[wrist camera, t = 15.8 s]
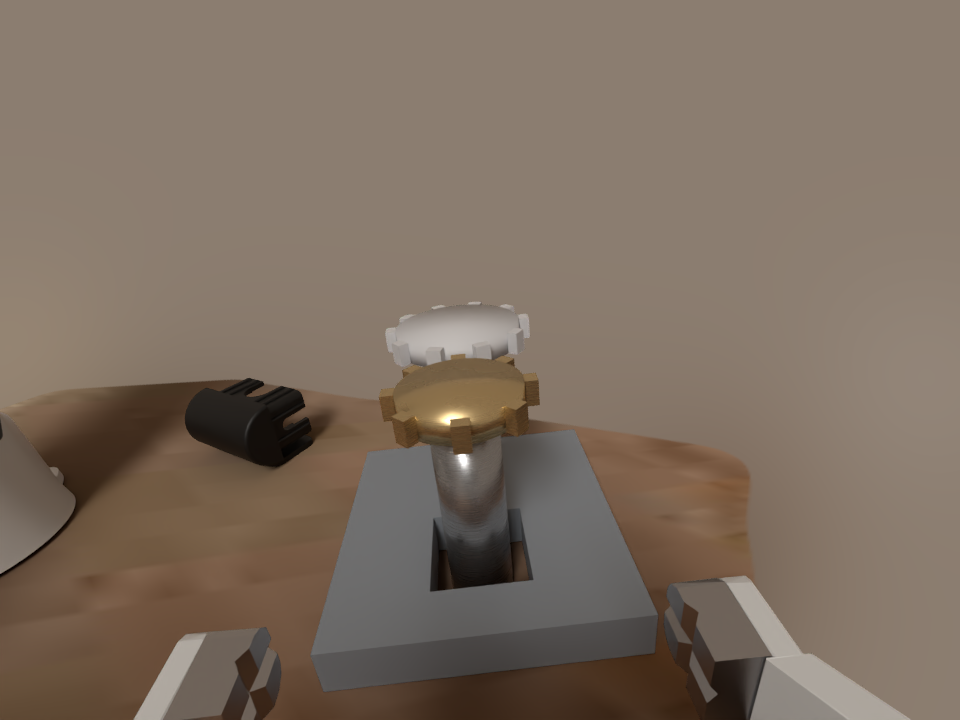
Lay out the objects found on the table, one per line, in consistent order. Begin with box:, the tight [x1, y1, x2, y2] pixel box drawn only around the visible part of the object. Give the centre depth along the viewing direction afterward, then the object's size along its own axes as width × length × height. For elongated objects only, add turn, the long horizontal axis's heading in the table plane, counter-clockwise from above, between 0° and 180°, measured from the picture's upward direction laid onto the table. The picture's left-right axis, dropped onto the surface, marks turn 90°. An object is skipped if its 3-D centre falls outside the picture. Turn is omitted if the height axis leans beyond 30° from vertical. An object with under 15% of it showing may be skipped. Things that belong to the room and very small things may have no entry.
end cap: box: [185, 378, 313, 467], centre depth 46 cm, size 10×7×7 cm
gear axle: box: [379, 354, 540, 589], centre depth 28 cm, size 8×8×14 cm
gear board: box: [310, 302, 658, 692], centre depth 32 cm, size 18×21×14 cm
